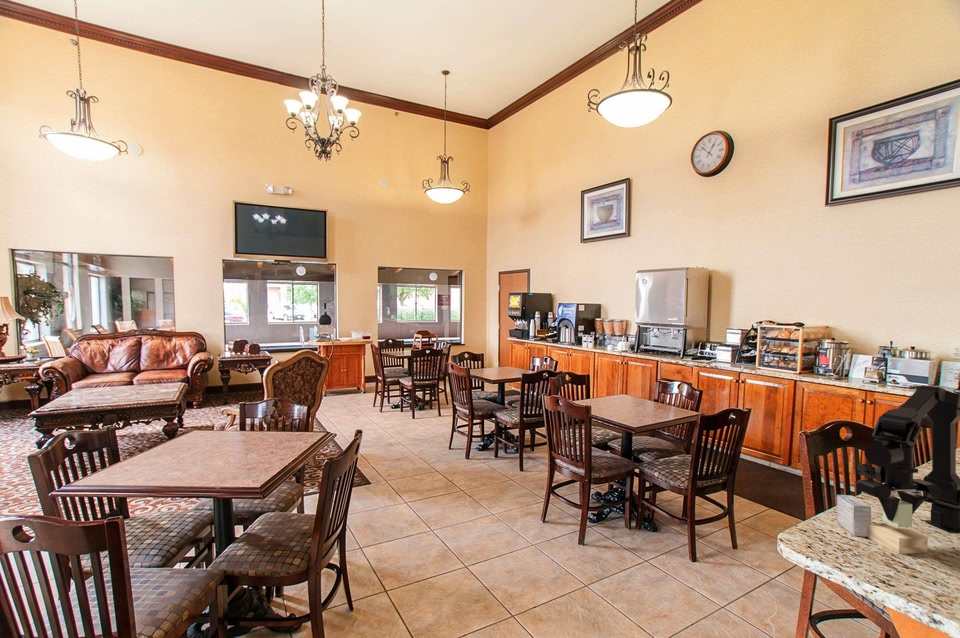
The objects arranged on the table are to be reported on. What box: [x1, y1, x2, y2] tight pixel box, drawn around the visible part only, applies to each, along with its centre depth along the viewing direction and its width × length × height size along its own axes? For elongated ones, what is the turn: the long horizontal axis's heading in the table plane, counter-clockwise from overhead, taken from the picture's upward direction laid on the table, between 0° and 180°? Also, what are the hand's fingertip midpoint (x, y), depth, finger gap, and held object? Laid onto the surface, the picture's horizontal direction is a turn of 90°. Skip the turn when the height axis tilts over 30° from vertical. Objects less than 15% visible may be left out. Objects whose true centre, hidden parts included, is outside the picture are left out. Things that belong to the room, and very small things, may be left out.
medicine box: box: [836, 494, 872, 538], centre depth 124 cm, size 8×4×9 cm, turn 168°
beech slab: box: [868, 522, 929, 555], centre depth 116 cm, size 8×8×4 cm
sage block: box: [882, 499, 913, 528], centre depth 116 cm, size 4×4×6 cm
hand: (897, 520), depth 116 cm, fingers closed on sage block, 4 cm apart
